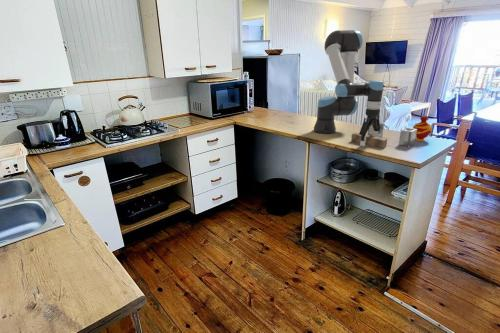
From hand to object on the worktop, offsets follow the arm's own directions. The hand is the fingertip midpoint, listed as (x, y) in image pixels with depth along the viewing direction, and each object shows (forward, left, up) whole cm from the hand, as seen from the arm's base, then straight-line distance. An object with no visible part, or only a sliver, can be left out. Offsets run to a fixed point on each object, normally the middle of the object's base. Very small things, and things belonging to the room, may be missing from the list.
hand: (368, 143), depth 177 cm
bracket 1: (-4, +16, 0) cm, 16 cm away
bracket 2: (+16, +16, 0) cm, 22 cm away
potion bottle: (+18, +30, 0) cm, 35 cm away
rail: (0, 0, 0) cm, 0 cm away
